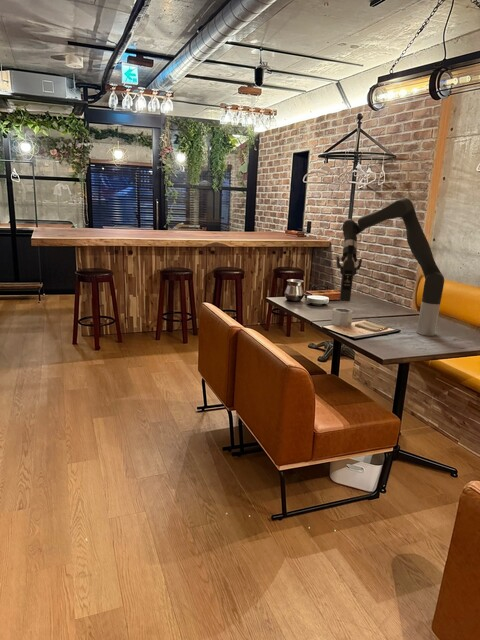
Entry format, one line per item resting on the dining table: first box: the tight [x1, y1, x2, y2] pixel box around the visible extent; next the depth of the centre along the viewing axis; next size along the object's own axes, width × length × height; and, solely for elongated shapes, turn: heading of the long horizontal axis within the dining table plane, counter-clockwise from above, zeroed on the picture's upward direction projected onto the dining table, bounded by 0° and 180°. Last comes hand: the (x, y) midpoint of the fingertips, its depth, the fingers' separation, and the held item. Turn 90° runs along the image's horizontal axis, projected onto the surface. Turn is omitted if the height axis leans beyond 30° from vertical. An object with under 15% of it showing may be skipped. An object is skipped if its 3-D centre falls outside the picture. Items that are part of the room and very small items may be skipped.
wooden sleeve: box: [331, 307, 354, 327], centre depth 253 cm, size 10×10×8 cm
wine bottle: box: [339, 245, 355, 302], centre depth 247 cm, size 6×6×30 cm
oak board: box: [354, 321, 389, 332], centre depth 252 cm, size 13×13×1 cm
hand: (348, 274), depth 246 cm, fingers closed on wine bottle, 5 cm apart
